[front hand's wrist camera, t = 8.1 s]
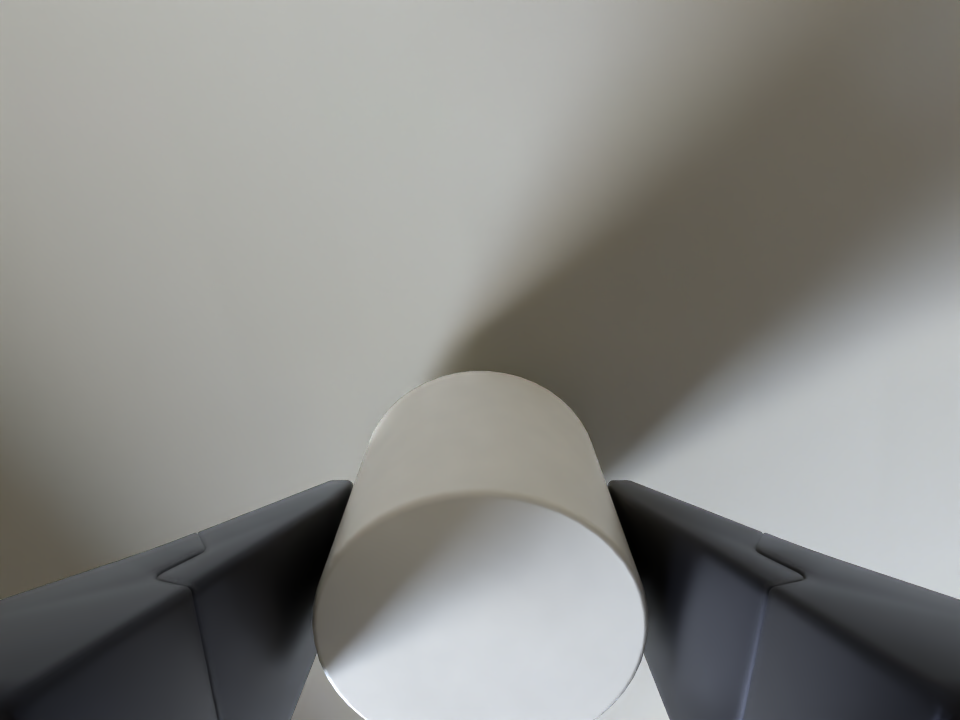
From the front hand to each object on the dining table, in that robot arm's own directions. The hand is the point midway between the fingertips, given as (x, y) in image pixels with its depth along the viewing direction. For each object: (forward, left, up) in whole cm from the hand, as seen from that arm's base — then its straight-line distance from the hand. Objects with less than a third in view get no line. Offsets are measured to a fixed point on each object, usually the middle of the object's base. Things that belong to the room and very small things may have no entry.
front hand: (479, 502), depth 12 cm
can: (0, 0, -1) cm, 1 cm away
